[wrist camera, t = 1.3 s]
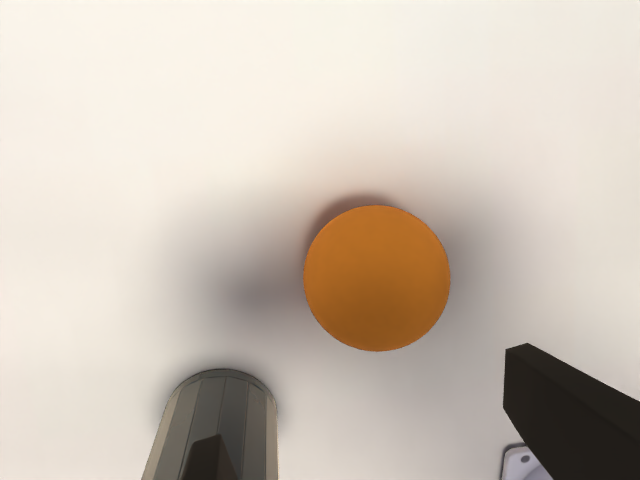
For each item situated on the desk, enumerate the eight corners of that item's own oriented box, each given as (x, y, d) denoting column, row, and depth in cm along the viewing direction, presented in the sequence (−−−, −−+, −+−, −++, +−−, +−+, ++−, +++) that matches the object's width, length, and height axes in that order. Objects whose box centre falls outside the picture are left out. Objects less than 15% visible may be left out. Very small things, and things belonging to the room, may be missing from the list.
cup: (273, 363, 20) (274, 488, 14) (280, 452, 22) (285, 602, 15) (157, 374, 20) (101, 509, 13) (173, 465, 22) (131, 625, 15)
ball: (423, 188, 19) (484, 222, 13) (418, 304, 20) (471, 374, 15) (295, 195, 18) (305, 234, 13) (301, 314, 20) (313, 391, 14)
